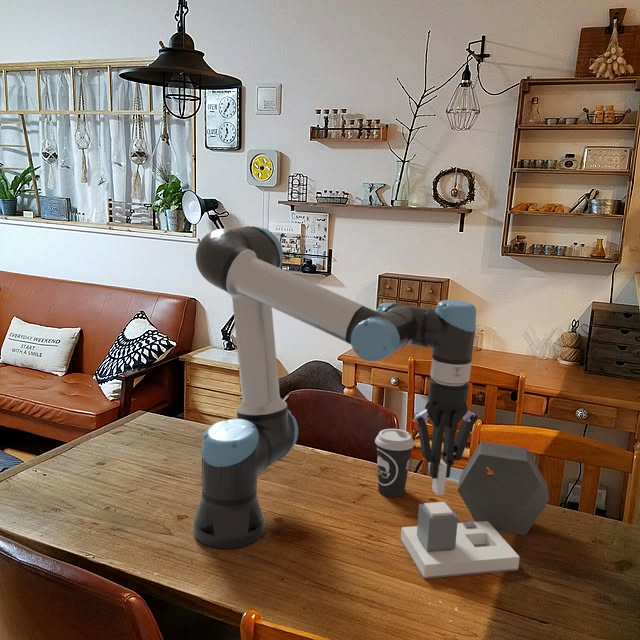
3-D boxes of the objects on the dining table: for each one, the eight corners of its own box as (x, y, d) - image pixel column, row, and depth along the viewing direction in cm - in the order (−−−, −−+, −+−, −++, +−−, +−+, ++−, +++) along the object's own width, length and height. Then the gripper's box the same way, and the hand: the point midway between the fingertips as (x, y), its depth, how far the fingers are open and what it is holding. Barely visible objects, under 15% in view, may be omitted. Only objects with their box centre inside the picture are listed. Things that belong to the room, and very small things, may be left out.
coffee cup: (409, 502, 155) (413, 444, 152) (369, 497, 157) (373, 439, 154) (411, 485, 164) (415, 429, 161) (374, 480, 166) (377, 425, 163)
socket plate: (423, 578, 125) (425, 563, 124) (400, 540, 138) (401, 525, 138) (518, 570, 129) (519, 554, 128) (486, 533, 142) (488, 519, 142)
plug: (425, 564, 129) (429, 516, 127) (415, 548, 135) (419, 501, 132) (453, 562, 130) (458, 514, 128) (442, 545, 136) (446, 499, 134)
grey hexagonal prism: (558, 505, 146) (514, 427, 146) (561, 521, 139) (515, 439, 139) (491, 531, 152) (448, 455, 152) (490, 548, 145) (445, 469, 144)
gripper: (424, 387, 120) (413, 502, 125) (489, 386, 123) (475, 499, 128) (411, 374, 127) (401, 484, 132) (472, 374, 130) (460, 482, 135)
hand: (437, 491), depth 130 cm, fingers closed
